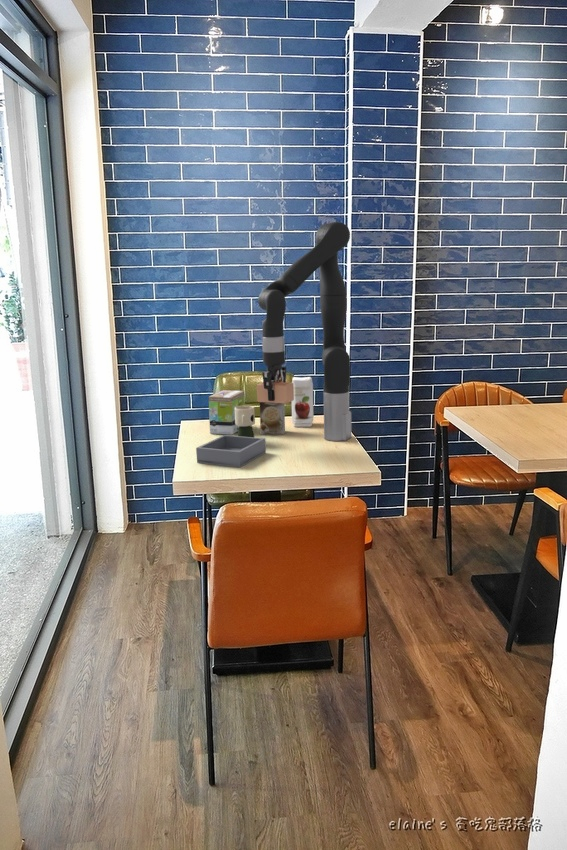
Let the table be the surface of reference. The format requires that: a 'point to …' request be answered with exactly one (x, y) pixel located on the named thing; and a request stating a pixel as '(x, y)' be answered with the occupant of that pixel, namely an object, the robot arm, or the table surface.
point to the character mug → (245, 420)
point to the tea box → (224, 411)
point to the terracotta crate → (276, 393)
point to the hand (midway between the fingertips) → (275, 398)
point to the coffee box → (272, 418)
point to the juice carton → (302, 402)
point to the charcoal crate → (231, 450)
